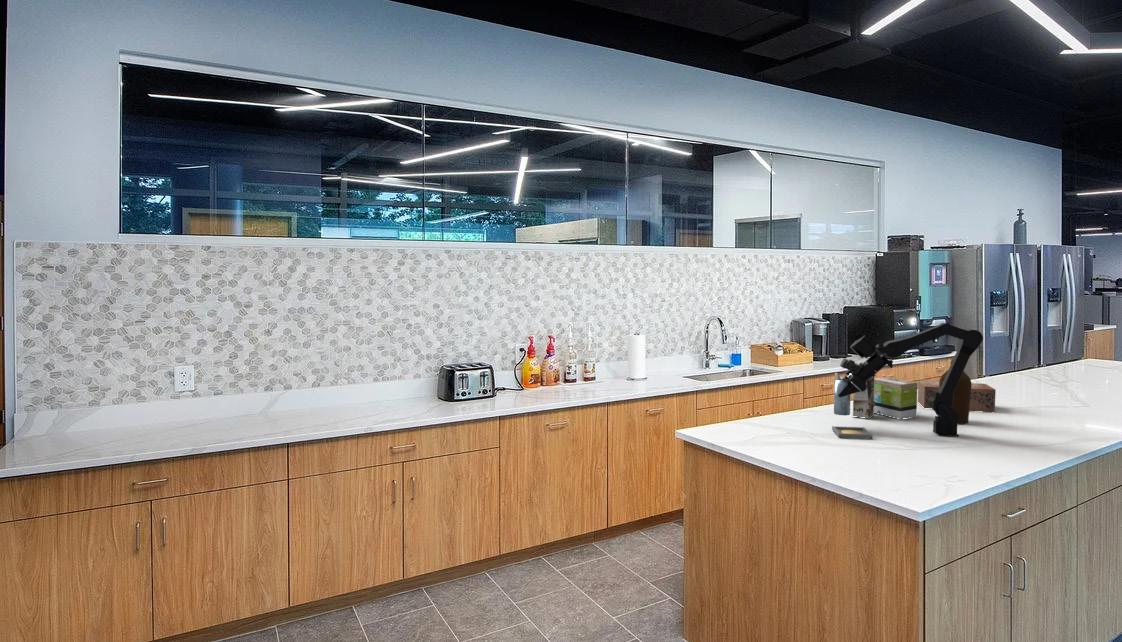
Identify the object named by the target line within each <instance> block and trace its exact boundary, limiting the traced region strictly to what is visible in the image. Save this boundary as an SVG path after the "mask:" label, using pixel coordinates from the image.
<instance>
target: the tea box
mask: <svg viewBox="0 0 1122 642" xmlns="http://www.w3.org/2000/svg"><path fill="white" fill-rule="evenodd" d="M917 405H918V381H917V382H916V381H910V380H905V379H904V380H903V379H900V378H899V379H898V378H892V377H887V376H883V377H878V378H876V377H874V413H879V414H883V415H887V416H891V417H895V418H899V419H903V418H909V417H915V418H917V413H918V412H917V411H918V410H917V408H918V406H917ZM883 415H882V416H883Z"/></svg>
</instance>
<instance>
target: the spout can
mask: <svg viewBox="0 0 1122 642" xmlns="http://www.w3.org/2000/svg"><path fill="white" fill-rule="evenodd" d="M834 375H835V377H836V378H834V379H833V385H834V386H833V414H834V415H835V416H836V415H838V416H850V415H851V394H850V395H847V396H843V397H839V396H838V395H839V393H840V392H841V391H842V390H843V388H844V387H845V386H846V385H847V379H845V376H844V377H843V376H842V377H841V376H840V375H839V374H838V372H835V373H834Z"/></svg>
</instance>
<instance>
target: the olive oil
mask: <svg viewBox="0 0 1122 642" xmlns="http://www.w3.org/2000/svg"><path fill="white" fill-rule="evenodd" d="M953 359H954V357H951V358H950V364H951V363H952V361H953ZM948 370H949V369H947V370H946V371H945V372H944V373H943V374H941V376H940V378H939V381H938V382H939V388H940V387H941V385H942V383H943V381H944V379H945V377H946V374H947V372H948ZM971 383H972V380H971V378H970V376H969V375H968V374H967V373H966V372H965V371H963V373H962V375H961V377H960V380H959V382H958V384H957V386H956V389H955V391H954V398H953V405H952V409H953V410H954V411H955V412H956V413H957V414H958V415H959V416H958V421H957V425H967V424H969V418H970V417H969V416H970V414H969V413H970V411H969V405H970V395H971ZM966 423H967V424H966Z"/></svg>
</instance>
